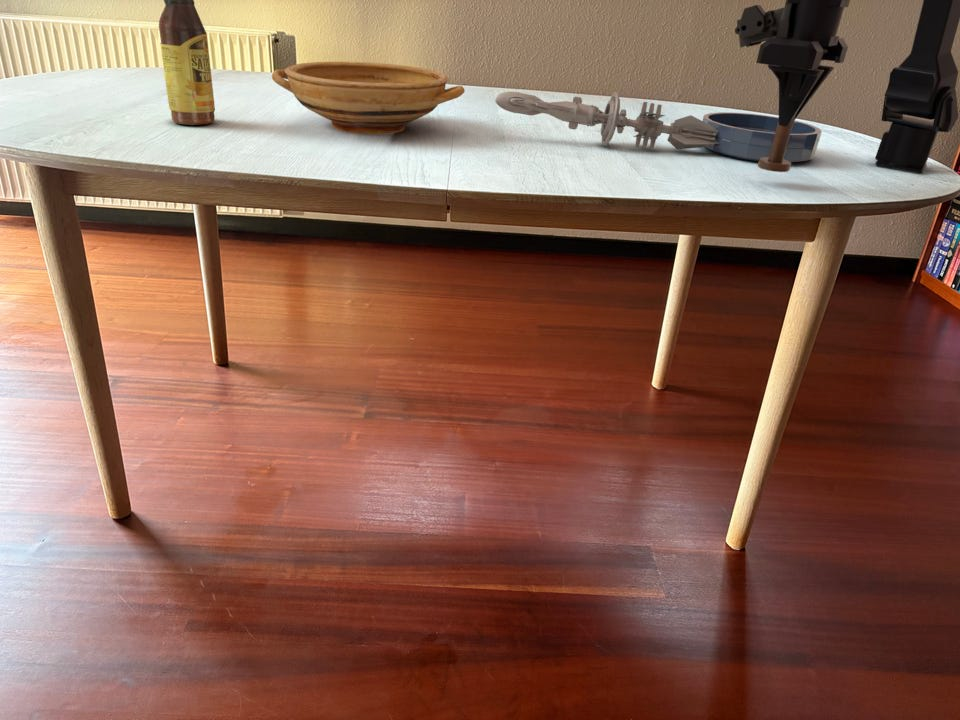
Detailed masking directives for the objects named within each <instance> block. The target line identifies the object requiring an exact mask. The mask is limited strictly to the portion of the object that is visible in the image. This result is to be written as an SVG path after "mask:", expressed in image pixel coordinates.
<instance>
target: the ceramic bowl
mask: <svg viewBox="0 0 960 720" xmlns="http://www.w3.org/2000/svg"><path fill="white" fill-rule="evenodd" d="M271 79H272V81H273V82H274V83H275V84H277V85H278V86H280V87H282V88H283V89H285V90H287V91H288V92H290V93H292V94H293V96H294V97H295V99H296V100H297V102H298V103H300V104H301V105H302V106H303V107H304V108H306V109H307V110H309V111H311V112H313V113H315V114H316V115H318V116H321V117H323V118H324V119H326V120H328V121H331V127H332V128H334V130H335V129H336V130H338V131H341V132H345V133H351V134H357V135H359V134H360V135H390V134H396V133H401V132H403V131H404V130H405V129H406V124H409V123H411V122H413V121H415V120H418V119H419V118H422V117H424V116H427V115H428V114H431V113H432V112H433V111H434V110H435V109H436V108H437V107H438V105H441V104H445V103H446V102H449V101H452V100H456V99H457V98H460V97H461V96H462V95H463V94H464V93H465V87H464V86H463V85H456V86H452V87H448V88H446V85H447V84H448V81H449V78H448V76H447V75H445V74H444V73H442V72H439V71H437V70H432V69H429V68H422V67H417V66H411V65H403V64H393V63H382V62H367V61H311V62H302V63H296V64H292V65H290V66H287V67H285V69H275V70H274V71H272V73H271Z"/></svg>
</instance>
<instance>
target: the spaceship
mask: <svg viewBox="0 0 960 720" xmlns="http://www.w3.org/2000/svg"><path fill="white" fill-rule="evenodd" d="M494 101H495V104H496V105H497V106H498V107H499V108H500V109H503V110H505V111H507V112H510V113H513V114H520V115H525V116H536V115H540V114H546V115H549V116H551V117H553V118H555V119H557V120H559V121H561V122H566V123H568V126H567V127H568V129H570V130H573V131H574V130H577V129H578V126H579V125H583V126H586V127H595V126H596V125H600V124H601V125H600V136H601V145H602V146H603V147H607V146H608V145H609V143H610V142H611V141H612V139H613V137H614V135H615V131H617V134H622V133H623V132H624V129H625V127H626V128H627V127H628V128H633V130H634V132H635V133H637V134H635V135H632V137H634V138H635V146H634V148H636V149H638V148H639V149H640V145H641V141H642V148H641V149H642V150H646V149H647V147H648V143H649V140H650V143H649V151H654V148H655V145H656V140H658V137H661V135H662V134H666V135H668V137H667V142H668V143H669V144H670V145H671V146H673V148H675V149H676V150H686V149H687V150H688V149H700V148H706V146H714V144H720V143H719V142H717V141H716V140H715V138H716V137H715V136H716V134H717V132H718V130H716V129H715V128H714V127H713V126H711V125H709V124H707V123H705V122H703V120H701V119H699V118H698V117H696V116H694V115H692V114H691V115H687V116H683V117H680V118H677V119H675V120H674V121H673V122H671V123H670V125H667V124H664V121H663V120H660V119H661V118H663V117H665V116H666V115H665V114H661V113H662V104H660V103H659V104H657V106H656V111H655V103H653V102H651V103H650V104H649V109H648V111H647V107H648V101H643V102H642V107H641V110H640V113H639V115H638V116H637V117H636V119H631V118H628V117H627V110H626V109H623V108H622V109H621V98H620V93H619V92H618V91H614V92H613V93H612V95H611V96H610V99H609V100H608V101H607V104H606V106H605V109H604V111H602V110H600V108H599V107H598V106H596V105H593V104H584V103H583V99H582V97H581V96H573V97H572V101H568V100H563V101H553V102H549V101H544V100H542V99H541V98H540V97H538V96H537V95H533V94H528V93H523V92H518V91H506V92H505V91H503V92H501V93H498V94H497V95H496V96H495V98H494Z"/></svg>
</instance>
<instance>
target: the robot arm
mask: <svg viewBox="0 0 960 720" xmlns="http://www.w3.org/2000/svg"><path fill="white" fill-rule="evenodd" d="M850 3H851V0H785V3H784V7H781V8H777V9H774V10H773V9H772V10H768V11H765V10H764V8H763V7H762V5H760V4H755V5H751V6H748V7H745V8H743V11H742V13H741V17H740V19H737V20H736V27H735V28H734V33H735V34H736V35H738V41H739V48H743V47H746V48H749V47H753V46H757V45H758V46H759V45H760V46H759V48H758V49H759V50H758V53H757V54H758V55H757V58H756V61H755V63H756V64H761V65H767V68H768V69H769V70H770V71H771V72H772V74H774V76H775V77H776V79H777V80H778V81H777V82H778V117H779V125H781V126H788V125H789V123H790V122H791V120H792V119H793V117H794V116H795V114H796V116H795V119H794V121H796V119H797V118H798V117H799V115H800V114H801V113H802V111H803V110H804V109H805V107H806V106H807V104H808V103H809V102H810V100H811V99H812V97H813V96H814V95H815V94H816V92H817V91H818V90H819V88H820V87H821V86H822V84H823V83H824V82H825V80H826V79H827V78H828V76H829V75H830V74H831V72H833V70H834V68H835V67H834V66H829V65H823V63H824V61H828V62H830V61H831V62H834V64H835V63H837V64H842V63H845V59H846V55H847V52H848V48H849V46H848V44H847V42H846V41H845V39H844V38H843V37H840V35H837V34H838V30H839V27H840V23H841V20H842V17H843V13H844V10H845V8H849V5H850ZM959 23H960V0H923V1H922V4H921V9H920V13H919V16H918V21H917V25H916V29H915V32H914V33H915V34H914V37H913V42H912V46H911V50H910V52H909V54H908V56H906V58H904V60H903V61H902V62H901V63H900V64H899V65H898V66H895V67H894V68H892V70H891V71H890V73H889V78H888V83H887V88H886V91H885V93H884V99H883V105H882V113H881V119H880V121H881V122H884V123H885V122H887V123H891V124H890V126H889V129H888V130H886V131H885V132H883V134H882V137H881V139H880V143H879V146H878V149H877V151H876V154H875V156H874V159H875V160H876V161H875V164H874V165H876V166H879V167H885V168H890V169H896V170H901V171H906V172H907V171H908V172H912V173H919V174H922V173H923V172H924V171H925V169H926V168H927V167H928V164H927V162H928V160H929V156H930V154H931V153H932V149H933V146H934V144H935V141H936V139H937V136H938V134H939V133H950V131H952V129H953V127H954V126H955V125H956V122H957V121H958V119H959V109H958V101H957V100H958V99H957V90H956V87H957V81H958V75H959V71H958V67H957V65H956V62H955V60H954V56H953V53H952V49H953V45H954V42H955V39H956V34H957V31H958V27H959ZM931 120H933V121H931Z"/></svg>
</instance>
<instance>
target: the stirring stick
mask: <svg viewBox="0 0 960 720" xmlns="http://www.w3.org/2000/svg"><path fill="white" fill-rule="evenodd" d="M795 116H796V114H795ZM795 116H794V117H793V119H792V120H791V122H790V123H789V125H788V126H781V125H779V121H778V125H777V129H776V132H775V136H774V140H773V144H772V147H771V151H770V155H769V157H762V158H760V159H759V162H758V161H757V167H758V168H759V169H762V170H765V171H768V172H776V173H777V172H778V173H787V172H788V173H789V172H790V170H791V166H792V163H791V162H789V161H787V160H784V155H785V151H786V148H787V144H788V141H789V137H790V134H791V130H792V127H793V123H794V119H795ZM795 120H796V119H795Z"/></svg>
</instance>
